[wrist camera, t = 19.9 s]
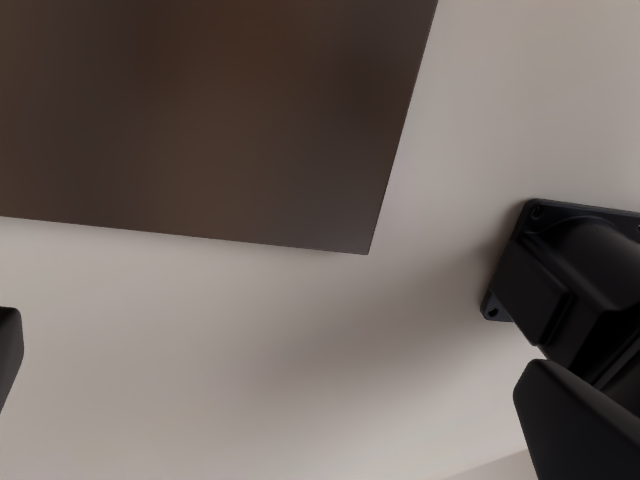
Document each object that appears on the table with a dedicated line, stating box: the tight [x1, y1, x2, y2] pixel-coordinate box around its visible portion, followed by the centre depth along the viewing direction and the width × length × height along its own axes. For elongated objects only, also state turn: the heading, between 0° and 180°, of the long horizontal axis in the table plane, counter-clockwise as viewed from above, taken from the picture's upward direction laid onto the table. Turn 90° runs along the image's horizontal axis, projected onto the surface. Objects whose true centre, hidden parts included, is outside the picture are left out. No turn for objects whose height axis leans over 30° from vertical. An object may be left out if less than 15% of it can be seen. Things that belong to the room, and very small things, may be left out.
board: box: [0, 0, 438, 255], centre depth 16 cm, size 20×11×1 cm, turn 79°
